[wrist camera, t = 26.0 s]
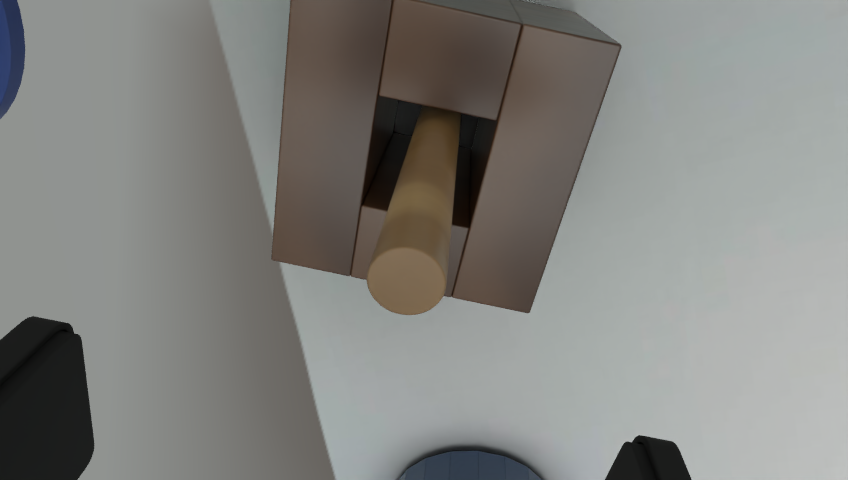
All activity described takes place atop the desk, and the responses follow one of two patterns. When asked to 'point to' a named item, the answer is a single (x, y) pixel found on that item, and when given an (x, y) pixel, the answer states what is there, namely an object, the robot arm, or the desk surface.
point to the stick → (419, 219)
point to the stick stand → (448, 90)
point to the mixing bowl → (468, 467)
